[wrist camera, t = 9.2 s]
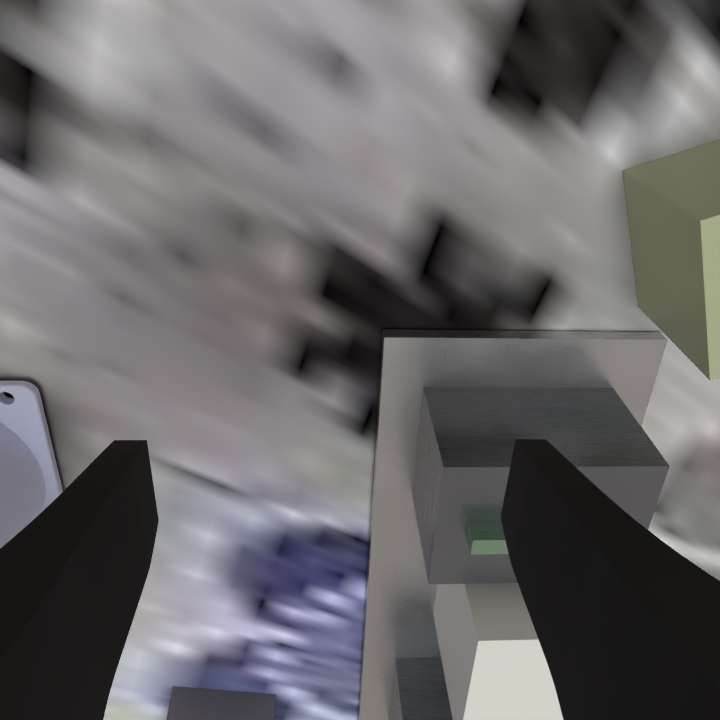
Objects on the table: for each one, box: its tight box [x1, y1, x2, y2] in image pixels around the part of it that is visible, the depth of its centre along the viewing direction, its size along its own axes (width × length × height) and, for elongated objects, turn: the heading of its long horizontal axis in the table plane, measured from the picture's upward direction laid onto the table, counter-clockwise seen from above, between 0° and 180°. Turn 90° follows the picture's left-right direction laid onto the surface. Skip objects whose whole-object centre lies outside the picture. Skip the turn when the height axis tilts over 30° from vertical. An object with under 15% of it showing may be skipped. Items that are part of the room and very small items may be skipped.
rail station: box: [358, 329, 669, 720], centre depth 27 cm, size 10×24×6 cm, turn 178°
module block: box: [433, 583, 563, 720], centre depth 26 cm, size 4×6×6 cm, turn 178°
